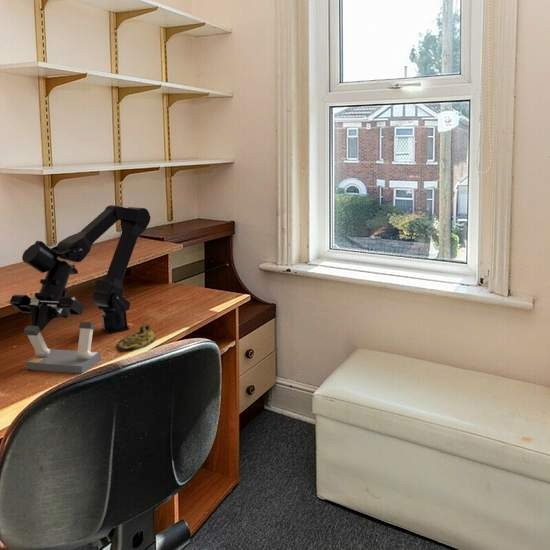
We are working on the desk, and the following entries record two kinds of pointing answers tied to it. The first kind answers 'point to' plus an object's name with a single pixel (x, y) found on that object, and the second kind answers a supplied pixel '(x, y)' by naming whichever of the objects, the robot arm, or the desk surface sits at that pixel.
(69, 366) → the switch base
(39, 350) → the left lever
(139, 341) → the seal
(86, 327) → the right lever
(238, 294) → the desk surface
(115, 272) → the robot arm
